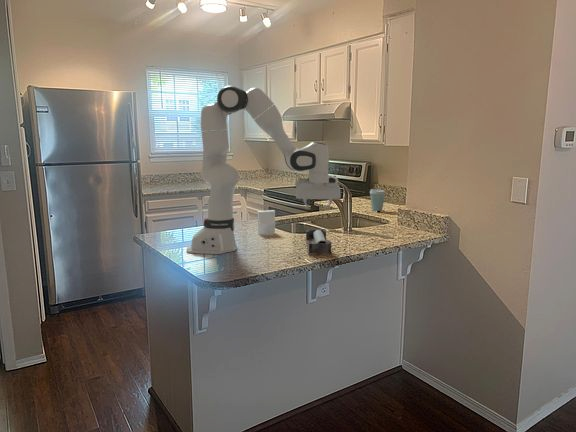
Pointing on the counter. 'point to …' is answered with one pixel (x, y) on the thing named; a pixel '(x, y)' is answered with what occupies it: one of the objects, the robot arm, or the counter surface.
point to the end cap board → (317, 244)
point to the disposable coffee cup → (377, 199)
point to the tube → (319, 237)
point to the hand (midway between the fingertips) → (317, 208)
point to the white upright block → (266, 222)
